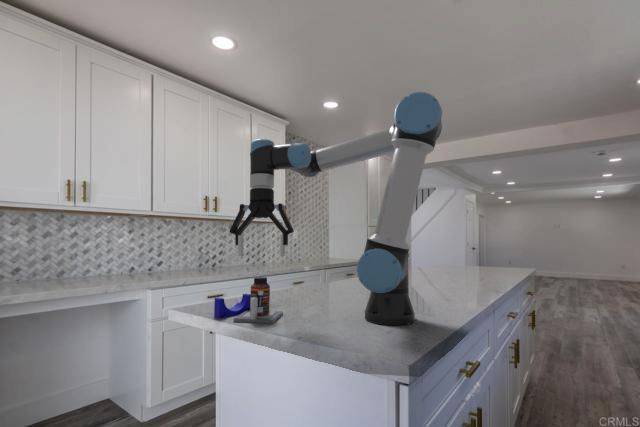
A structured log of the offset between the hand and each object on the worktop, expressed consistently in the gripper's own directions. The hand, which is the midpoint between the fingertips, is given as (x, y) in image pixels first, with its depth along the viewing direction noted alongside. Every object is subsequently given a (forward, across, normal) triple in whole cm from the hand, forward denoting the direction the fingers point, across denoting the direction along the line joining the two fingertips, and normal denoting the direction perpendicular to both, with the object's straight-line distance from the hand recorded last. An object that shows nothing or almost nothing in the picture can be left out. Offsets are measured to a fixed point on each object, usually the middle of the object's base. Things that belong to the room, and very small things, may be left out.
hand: (261, 256), depth 108 cm
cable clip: (+19, +11, -4) cm, 22 cm away
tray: (+19, 0, 0) cm, 19 cm away
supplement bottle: (+18, 0, 0) cm, 18 cm away
